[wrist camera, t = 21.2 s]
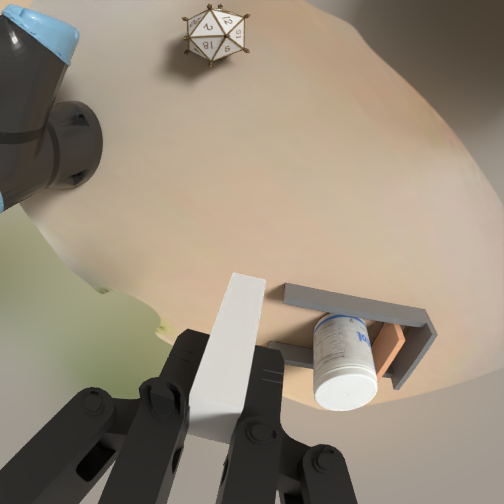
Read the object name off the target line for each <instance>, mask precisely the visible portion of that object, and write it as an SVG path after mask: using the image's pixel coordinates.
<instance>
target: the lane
mask: <svg viewBox="0 0 504 504" xmlns="http://www.w3.org/2000/svg"><path fill="white" fill-rule="evenodd" d="M283 304H287V305H292V306H297V307H302V308H308V309H313V310H318V311H323V312H329V313H334V314H340V315H345V316H351V317H357V318H363V319H369V320H375V321H381V322H387V323H393V324H400V325H406V326H410V327H409V329H408V331H407V333H406V334H405V336H404V338H405V342H404V344H403V345H402V347H401V349H400V350H399V352H398V353H397V355H396V356H395V358H394V359H393V361H392V363H391V364H390V366H389V367H388V369H387V370H386V371H385V373H384V374H383V376H382V377H387V378H391V380H392V384H393V388H394V389H395V390H399V389H400V388H401V386H402V385H403V384H404V383H405V381H406V380H407V379H408V377H409V376H410V375H411V373H412V372H413V371H414V369H415V368H416V366H417V365H418V364H419V362H420V361H421V359H422V358H423V356H424V355H425V353H426V352H427V351H428V349H429V348H430V346H431V345H432V343H433V341H434V340H435V338H436V337H437V332H436V330H435V328H434V326H433V324H432V322H431V320H430V318H429V316H428V314H427V312H426V310H425V309H420V308H414V307H409V306H403V305H397V304H392V303H387V302H381V301H376V300H370V299H365V298H360V297H355V296H350V295H344V294H339V293H334V292H329V291H324V290H319V289H314V288H309V287H304V286H299V285H294V284H290V283H286V284H285V288H284V297H283ZM268 348H271V349H276V350H280V352H281V354H282V356H283V359H284V361H285V363H284V364H286V365H292V366H298V367H304V368H311V369H314V349H311V348H305V347H299V346H293V345H288V344H283V343H277V342H272V341H269V344H268Z"/></svg>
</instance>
